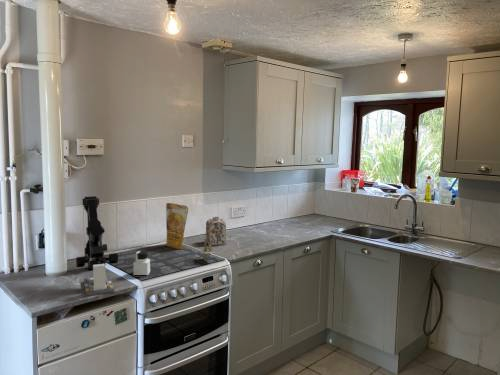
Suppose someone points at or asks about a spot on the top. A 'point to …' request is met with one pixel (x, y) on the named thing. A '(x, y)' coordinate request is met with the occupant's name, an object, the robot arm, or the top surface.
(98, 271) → the slider tab
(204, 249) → the architectural model
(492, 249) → the top surface
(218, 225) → the decorative jar
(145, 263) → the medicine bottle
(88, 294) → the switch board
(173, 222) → the pancake mix bag
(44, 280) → the top surface
